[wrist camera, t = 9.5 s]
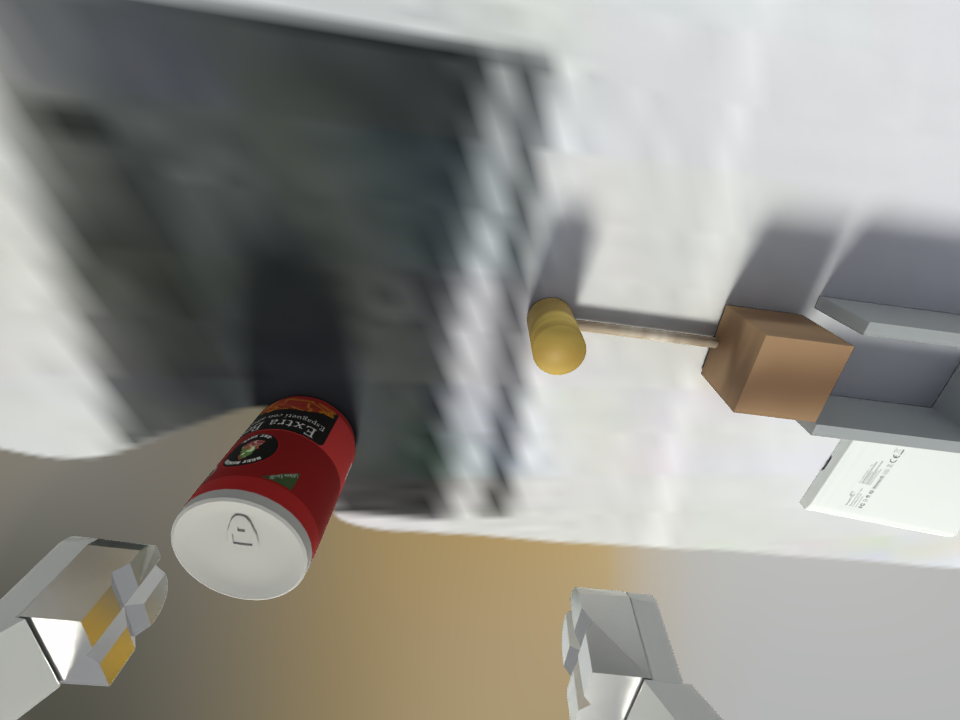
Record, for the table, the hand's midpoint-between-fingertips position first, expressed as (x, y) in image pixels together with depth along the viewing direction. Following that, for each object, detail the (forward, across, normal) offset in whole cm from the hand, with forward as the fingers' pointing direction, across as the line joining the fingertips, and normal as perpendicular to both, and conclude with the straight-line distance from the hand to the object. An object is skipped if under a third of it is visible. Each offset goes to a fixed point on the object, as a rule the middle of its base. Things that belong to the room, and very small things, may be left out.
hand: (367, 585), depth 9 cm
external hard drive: (+24, -35, +13) cm, 44 cm away
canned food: (+23, +10, +15) cm, 29 cm away
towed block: (+23, -14, +3) cm, 27 cm away
